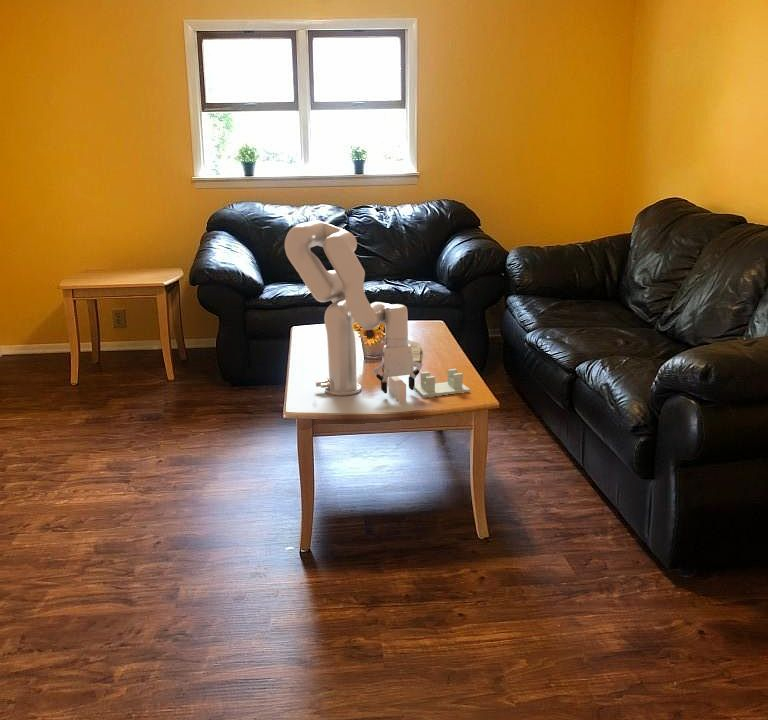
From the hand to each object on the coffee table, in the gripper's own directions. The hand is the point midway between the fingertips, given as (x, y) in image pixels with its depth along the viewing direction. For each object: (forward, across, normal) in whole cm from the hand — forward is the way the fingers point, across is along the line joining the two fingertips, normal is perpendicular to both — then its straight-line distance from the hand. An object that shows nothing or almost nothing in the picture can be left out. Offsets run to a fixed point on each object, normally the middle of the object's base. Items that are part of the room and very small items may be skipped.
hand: (398, 390), depth 257 cm
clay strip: (+2, 0, 0) cm, 2 cm away
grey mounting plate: (+2, +16, 0) cm, 16 cm away
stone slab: (+3, +18, +47) cm, 50 cm away
